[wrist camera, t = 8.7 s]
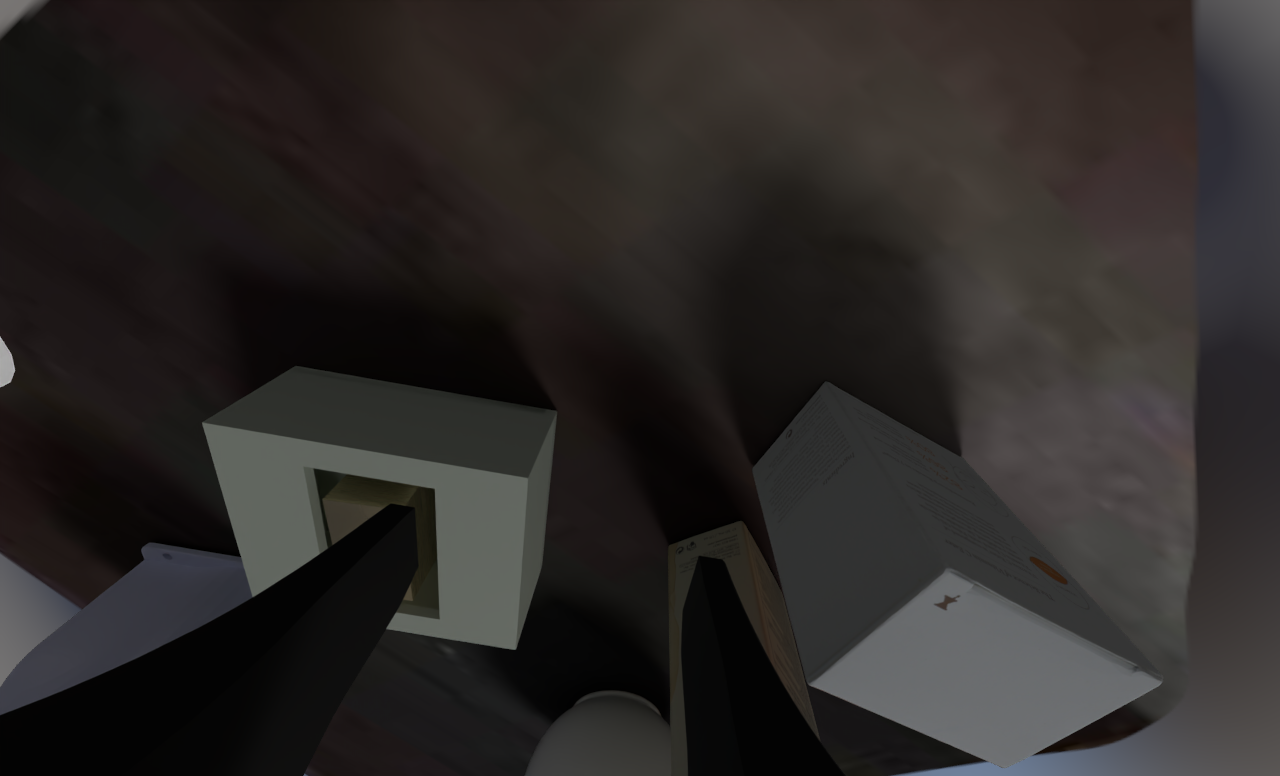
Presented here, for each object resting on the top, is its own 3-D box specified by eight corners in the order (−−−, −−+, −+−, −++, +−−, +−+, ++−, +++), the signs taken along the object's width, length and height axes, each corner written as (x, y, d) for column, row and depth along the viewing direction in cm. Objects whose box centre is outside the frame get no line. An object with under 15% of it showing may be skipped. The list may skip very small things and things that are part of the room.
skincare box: (665, 542, 26) (659, 833, 15) (745, 515, 25) (800, 809, 14) (714, 617, 28) (738, 916, 17) (789, 596, 27) (864, 902, 16)
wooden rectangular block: (400, 511, 25) (342, 591, 21) (390, 429, 23) (322, 499, 19) (458, 519, 25) (412, 601, 21) (453, 438, 23) (401, 510, 19)
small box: (748, 466, 23) (797, 686, 14) (825, 374, 21) (946, 566, 12) (881, 536, 25) (1006, 777, 15) (967, 457, 22) (1175, 687, 13)
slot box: (324, 529, 27) (255, 607, 23) (296, 365, 22) (201, 422, 18) (541, 566, 27) (515, 650, 23) (556, 411, 23) (528, 478, 18)
